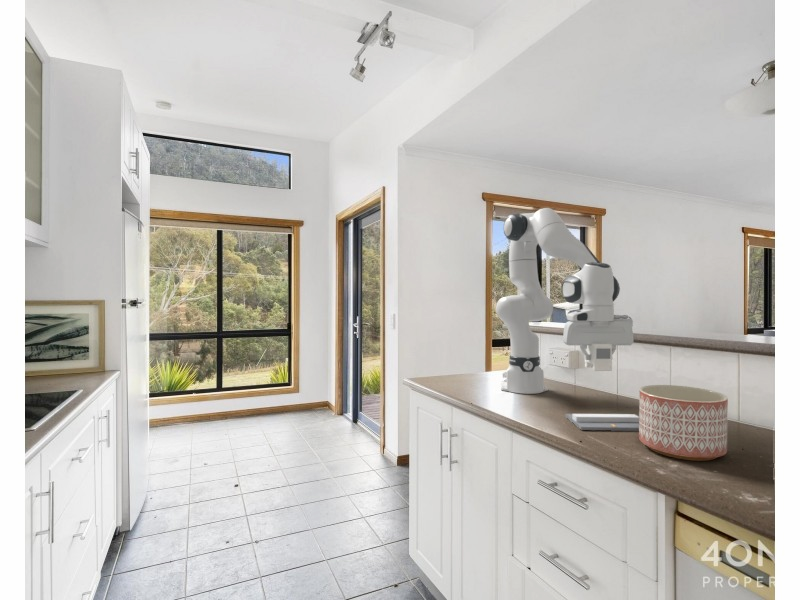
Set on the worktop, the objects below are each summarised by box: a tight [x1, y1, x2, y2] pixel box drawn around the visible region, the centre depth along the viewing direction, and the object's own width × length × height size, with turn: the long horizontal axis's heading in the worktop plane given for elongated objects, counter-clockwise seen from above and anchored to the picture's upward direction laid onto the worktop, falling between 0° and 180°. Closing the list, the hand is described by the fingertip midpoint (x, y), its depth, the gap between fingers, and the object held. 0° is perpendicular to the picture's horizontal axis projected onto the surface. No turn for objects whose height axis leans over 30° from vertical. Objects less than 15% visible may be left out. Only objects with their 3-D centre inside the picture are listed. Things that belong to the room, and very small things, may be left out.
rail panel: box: [564, 413, 639, 432], centre depth 138 cm, size 14×20×2 cm
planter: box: [638, 384, 729, 462], centre depth 116 cm, size 19×19×15 cm
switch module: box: [584, 343, 613, 372], centre depth 138 cm, size 8×5×8 cm, turn 177°
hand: (597, 359), depth 138 cm, fingers closed on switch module, 5 cm apart
